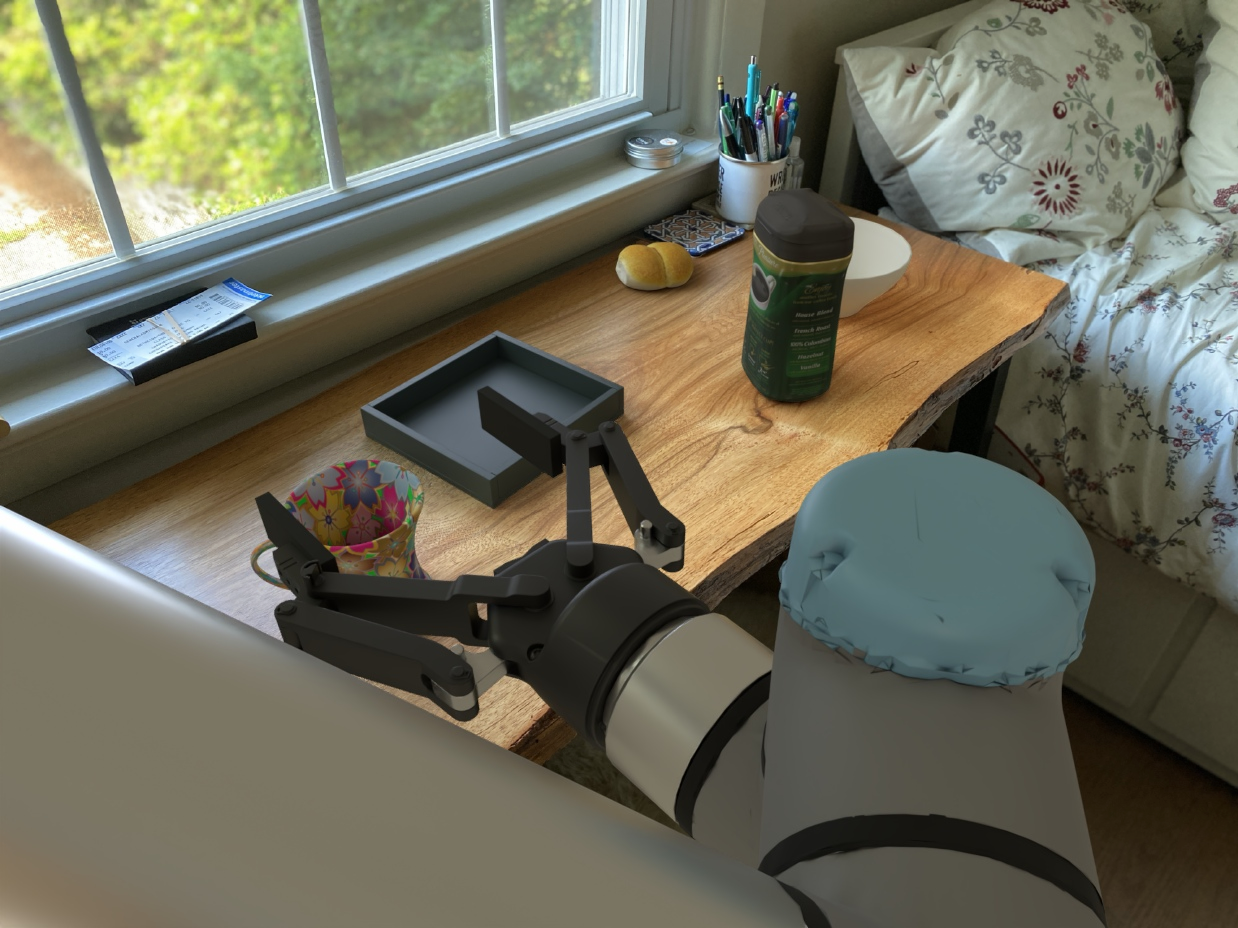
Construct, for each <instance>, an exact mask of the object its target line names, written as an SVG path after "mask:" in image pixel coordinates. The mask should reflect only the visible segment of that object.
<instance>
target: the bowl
mask: <svg viewBox="0 0 1238 928" xmlns="http://www.w3.org/2000/svg"><path fill="white" fill-rule="evenodd" d="M848 217H849V218H850V219H852V221H853V222H854V224H855V231H854V245H853V254H852V258H851V261H850V264H849V266H848V269H847V273H846V277H845V282H844V288H843V294H842V302H841V309H840V316H839V319H844V318H848V317H851V316H854V315H856V314H858V313H859V312H860V311H862V309H864V308H865V307H866V306H867V305H868V304H870V303H872V302H874V300H876V299H879V297H881V296H883V295H884V294H885V293H887V292H889V290H891V289H892V288H893V287H894V286H895V285H896V284H897V283H898V282H899V281H901V279H902V278H903V276H904V275H905V273H907V270H908V267H909V265H910V262H911V260H912V257H913V251H912V245H911V244H910V243H909V241H908V240H907V239H906V238H905V237H904V236H903V235H901V234H900V233H898V232H897V231H895V229H892V228H890V227H888V226H885V225H883V224H881V223H878V222H874V221H871V220H868V219H865V218H859V217H855V216H848Z"/></svg>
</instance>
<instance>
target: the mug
mask: <svg viewBox="0 0 1238 928" xmlns="http://www.w3.org/2000/svg"><path fill="white" fill-rule="evenodd" d="M424 503H425V491H424V487H423V484H422V482H421V481H420V479H419V478H418V477H417V475H416V474H415V473H413V472H412V471H411V470H409V469H408V468H406V467H404V466H402V465H400V464H397V463H394V462H391V461H387V460H380V459H357V460H350V461H349V460H348V461H345V462H340V463H337V464H334V465H331V466H327V467H325V468H323V469H320V470H318V471H317V472H315V473H313V474H311V475H309V476H308V477H306V478H305V479H304V480H303V481H301V482H300V483H299V484H297V486H296V487H295V488H294V489H293V490H292V491H291V493H290V494H289V495H288V496H287V499H286V500H285V503H284V505H283V506H284V507H285V508H286V509H287V510H288V511H289V512H290V513H291V514H292V515H293V516H294V517H295V518H296V519H297V520H298V521H299V522H300V523H301V524H302V525H303V526H304V527H305V528H306V529H307V530H308V531H309V532H310V533H311V534H312V535H313V536H315V537H316V538H317V539H318V540H319V541H320V542H321V543H322V544H323V545H324V546H325V547H326V548H327V549H328V550H329V551H330V552H331V553H332V554H333V555H334V556H335V558H336V562H337V565H338V569H339V572H340V573H348V574H362V575H376V576H389V577H403V578H417V579H430V580H433V579H432V577H431V575H430V574H429V573H428V572H427V571H426V570H425V569H424V568H423V567H422V566H421V564H420V562H419V559H418V556H417V552H416V551H417V550H416V541H415V540H416V531H417V525H418V521H419V518H420V515H421V512H422V510H423V508H424ZM274 548H277V547H276V546H275V545H274V544H273V543H272V542H271V541H270V540H269V539H267V540H265V541H262V542H261V543H259V544H258V545H256V547H255V548H254V549H253V550H252V551H251V553H250V558H249V561H250V562H249V563H250V566H251V569H252V571H253V572H254V574H255V575H256V576H257V577H259V578H260V579H261V580H263V581H264V582H266V583H267V584H269V585H271V586H274V587H277V588H280V589H282V590H287V591H290V590H289V589H288V588H287V586H286V585H285V584H284V583H283V582H282V581H281V580H280V577H277V576H274V575H271V574H270V573H268V572H266V571H265V570H263V568H261V567H260V566H259V564H258V560H259V557H260V556H261V555H263V553H265V552H267V551H269V550H271V549H274Z"/></svg>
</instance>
